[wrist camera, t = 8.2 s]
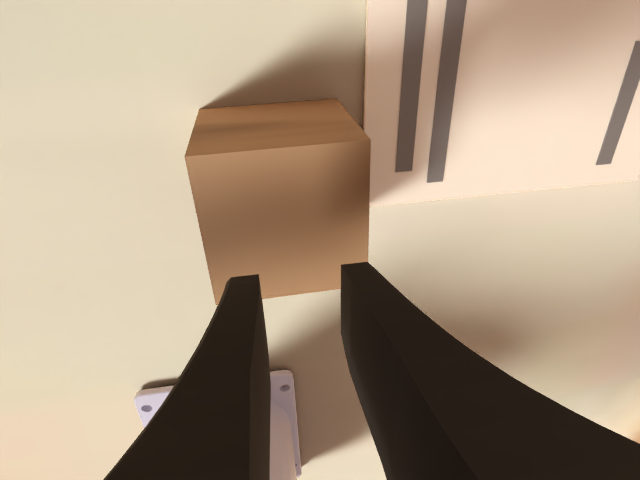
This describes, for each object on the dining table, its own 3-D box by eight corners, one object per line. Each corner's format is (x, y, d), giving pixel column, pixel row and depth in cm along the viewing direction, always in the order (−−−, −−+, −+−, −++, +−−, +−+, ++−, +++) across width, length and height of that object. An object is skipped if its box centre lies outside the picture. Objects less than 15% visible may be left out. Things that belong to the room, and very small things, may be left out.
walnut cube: (338, 216, 19) (367, 285, 14) (221, 229, 18) (215, 305, 14) (336, 97, 16) (370, 139, 12) (199, 108, 16) (184, 156, 11)
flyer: (633, 178, 20) (637, 181, 20) (361, 205, 18) (362, 208, 18) (736, -91, 15) (743, -91, 15) (369, -86, 13) (371, -87, 13)
